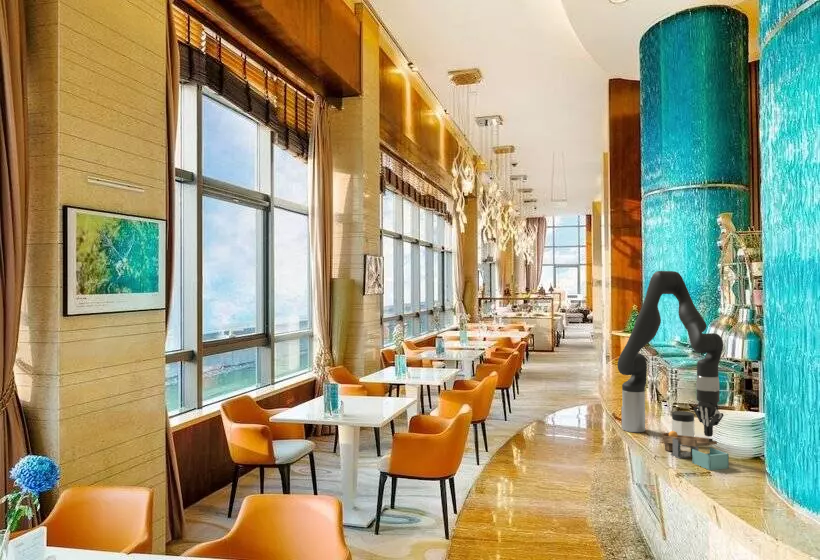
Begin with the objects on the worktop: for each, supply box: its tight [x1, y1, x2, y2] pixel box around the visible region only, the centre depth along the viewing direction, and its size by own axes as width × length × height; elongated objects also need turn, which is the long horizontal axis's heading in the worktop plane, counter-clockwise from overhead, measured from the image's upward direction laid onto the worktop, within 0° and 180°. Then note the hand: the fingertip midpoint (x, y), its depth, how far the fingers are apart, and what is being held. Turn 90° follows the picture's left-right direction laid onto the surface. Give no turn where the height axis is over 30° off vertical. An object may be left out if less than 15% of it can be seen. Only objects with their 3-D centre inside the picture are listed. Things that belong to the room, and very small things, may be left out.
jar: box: [671, 410, 696, 437], centre depth 246 cm, size 9×8×12 cm
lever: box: [661, 432, 718, 452], centre depth 229 cm, size 18×10×6 cm, turn 15°
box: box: [691, 446, 730, 471], centre depth 216 cm, size 9×8×5 cm
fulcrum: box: [670, 438, 699, 460], centre depth 228 cm, size 5×9×6 cm, turn 105°
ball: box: [668, 430, 678, 437], centre depth 235 cm, size 3×3×3 cm
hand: (708, 435), depth 224 cm, fingers closed
